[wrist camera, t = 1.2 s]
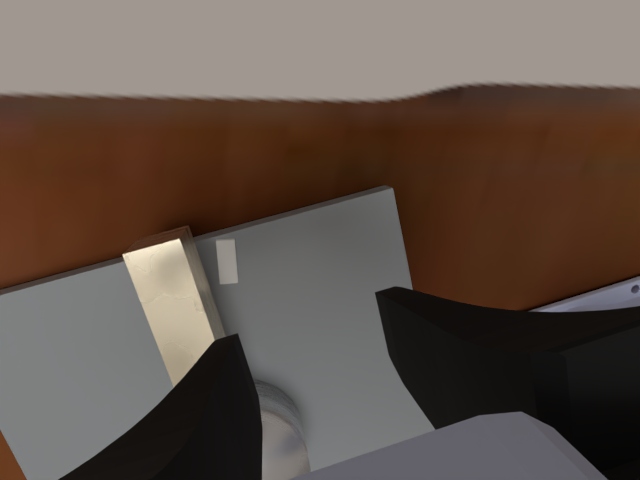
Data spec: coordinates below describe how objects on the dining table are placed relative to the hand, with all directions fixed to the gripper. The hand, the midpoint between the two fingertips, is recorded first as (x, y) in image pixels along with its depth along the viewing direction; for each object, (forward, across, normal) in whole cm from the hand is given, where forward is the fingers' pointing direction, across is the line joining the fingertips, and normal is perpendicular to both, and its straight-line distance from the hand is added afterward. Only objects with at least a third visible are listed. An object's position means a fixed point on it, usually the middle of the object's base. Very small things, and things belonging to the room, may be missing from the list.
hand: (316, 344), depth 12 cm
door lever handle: (+8, +4, +4) cm, 10 cm away
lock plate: (+9, +4, +8) cm, 13 cm away
